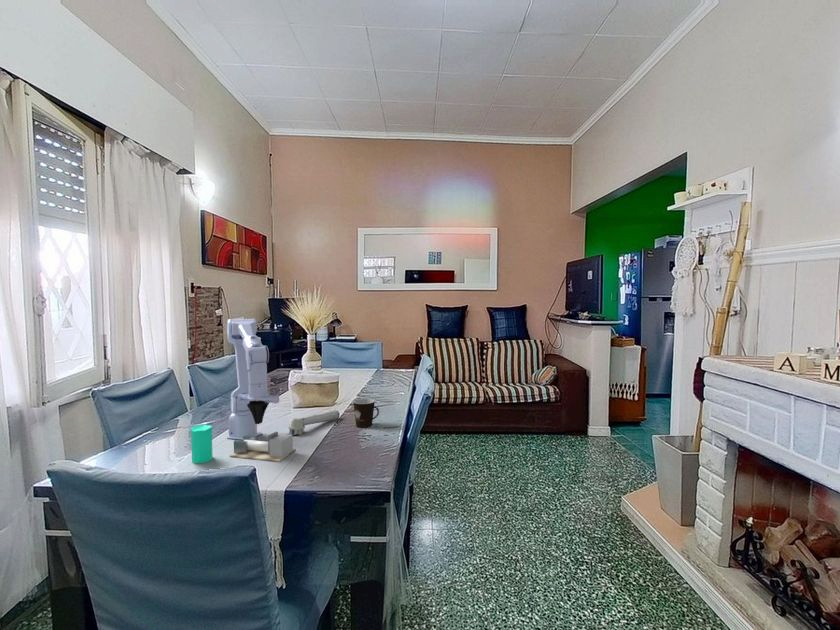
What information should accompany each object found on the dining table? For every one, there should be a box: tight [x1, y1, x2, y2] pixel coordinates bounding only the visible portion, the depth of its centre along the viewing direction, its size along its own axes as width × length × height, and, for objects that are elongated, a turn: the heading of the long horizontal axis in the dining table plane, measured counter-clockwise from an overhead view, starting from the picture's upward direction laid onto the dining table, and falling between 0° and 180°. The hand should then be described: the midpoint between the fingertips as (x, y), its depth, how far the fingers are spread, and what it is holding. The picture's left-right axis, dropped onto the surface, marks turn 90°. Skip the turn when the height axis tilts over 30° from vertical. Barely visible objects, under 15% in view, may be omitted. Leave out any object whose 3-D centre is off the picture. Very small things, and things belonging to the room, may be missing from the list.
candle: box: [190, 422, 214, 464], centre depth 130 cm, size 6×6×12 cm
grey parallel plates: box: [233, 435, 258, 454], centre depth 137 cm, size 4×6×4 cm
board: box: [229, 448, 297, 463], centre depth 136 cm, size 18×10×1 cm, turn 76°
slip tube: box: [244, 431, 279, 454], centre depth 135 cm, size 14×4×6 cm, turn 76°
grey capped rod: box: [288, 409, 341, 436], centre depth 163 cm, size 5×7×25 cm
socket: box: [269, 433, 294, 458], centre depth 134 cm, size 4×6×6 cm
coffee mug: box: [352, 397, 380, 429], centre depth 163 cm, size 12×9×10 cm
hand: (258, 423), depth 136 cm, fingers closed
